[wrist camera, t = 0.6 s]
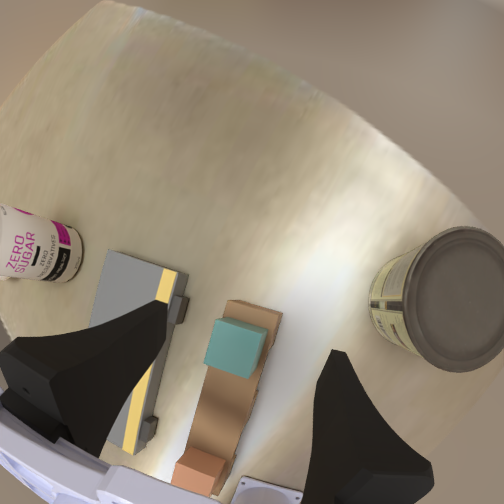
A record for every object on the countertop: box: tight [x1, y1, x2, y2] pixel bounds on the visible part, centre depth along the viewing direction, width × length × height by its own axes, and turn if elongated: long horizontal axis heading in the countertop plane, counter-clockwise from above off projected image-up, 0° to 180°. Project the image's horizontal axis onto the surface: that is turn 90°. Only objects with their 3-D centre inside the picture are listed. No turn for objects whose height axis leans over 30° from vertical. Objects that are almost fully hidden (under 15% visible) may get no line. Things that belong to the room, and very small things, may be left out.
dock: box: [89, 249, 189, 455], centre depth 35 cm, size 24×11×3 cm, turn 163°
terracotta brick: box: [171, 447, 226, 497], centre depth 26 cm, size 4×4×4 cm
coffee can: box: [369, 226, 504, 373], centre depth 25 cm, size 10×10×14 cm
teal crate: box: [204, 317, 268, 379], centre depth 27 cm, size 4×4×4 cm
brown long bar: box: [184, 300, 283, 496], centre depth 31 cm, size 22×5×5 cm, turn 163°
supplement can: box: [0, 204, 82, 283], centre depth 33 cm, size 8×8×15 cm
